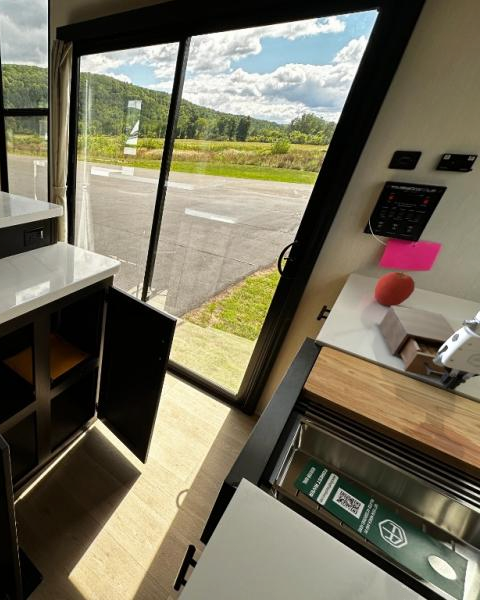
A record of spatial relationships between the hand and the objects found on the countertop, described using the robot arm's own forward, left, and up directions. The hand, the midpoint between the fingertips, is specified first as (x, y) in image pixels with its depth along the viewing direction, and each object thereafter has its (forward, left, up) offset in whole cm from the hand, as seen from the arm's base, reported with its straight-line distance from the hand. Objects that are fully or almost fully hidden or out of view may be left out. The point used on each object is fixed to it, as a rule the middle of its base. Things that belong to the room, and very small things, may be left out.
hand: (446, 385), depth 82 cm
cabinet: (0, -23, -4) cm, 23 cm away
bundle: (0, -13, -2) cm, 13 cm away
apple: (+1, -49, -4) cm, 49 cm away
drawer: (0, -12, -3) cm, 12 cm away
